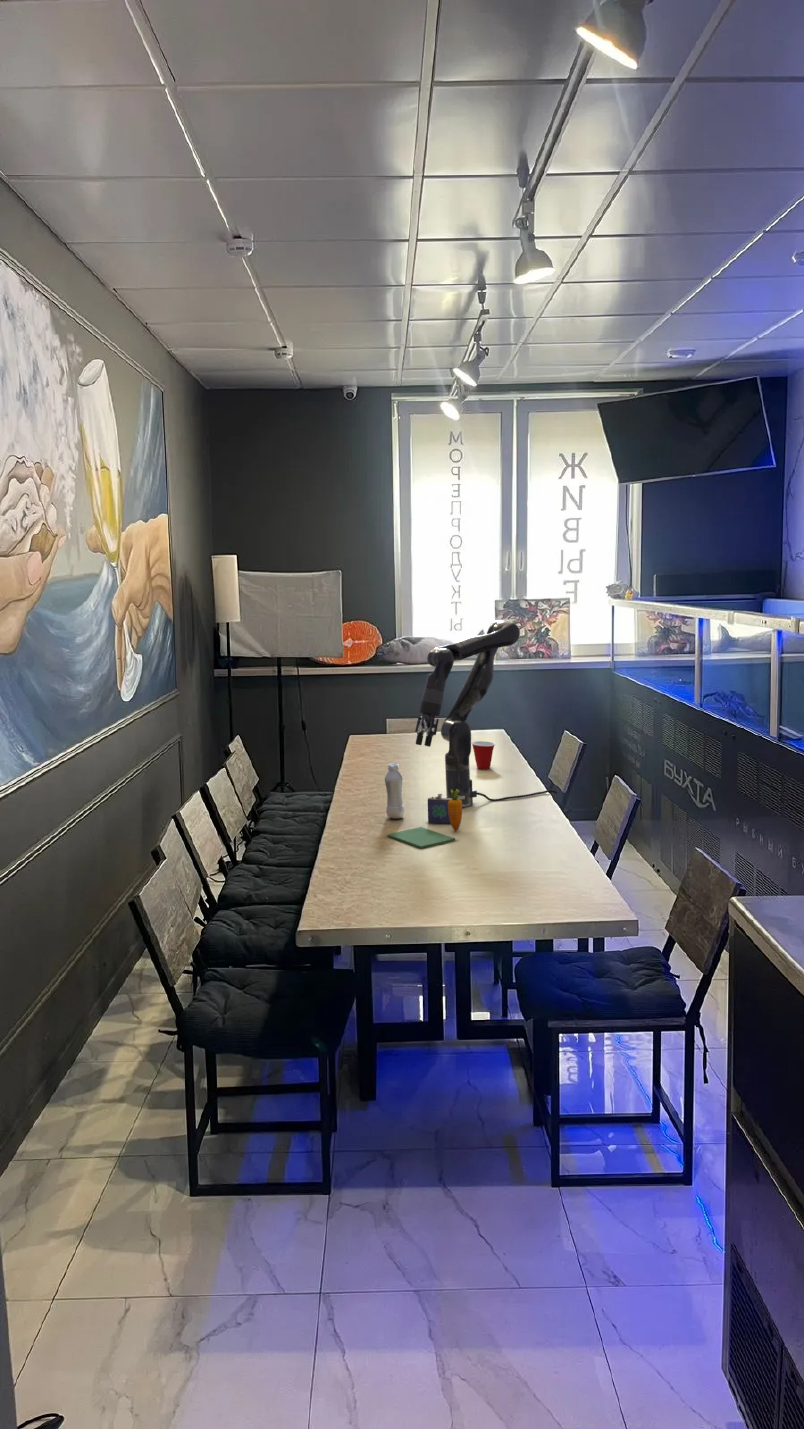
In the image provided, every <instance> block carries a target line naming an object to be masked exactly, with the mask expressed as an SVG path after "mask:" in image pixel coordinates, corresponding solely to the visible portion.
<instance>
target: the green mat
mask: <svg viewBox="0 0 804 1429" xmlns="http://www.w3.org/2000/svg"><path fill="white" fill-rule="evenodd" d="M386 837H388V838H390V839H393V840H396V841H398V842H402V843H404V844H407V845H409V846H413V847H414V848H415V847H416V848H418V849H425V848H430V847H434V846H438V845H443V844H448V843H451V842H455V841H456V837H452V836H449V835H446V834H443V833H440V832H437V831H434V830H431V829H428V828H425V827H422V826H420V827H414V828H409V829H404V830H401V831H396V832H391V833H387V836H386Z"/></svg>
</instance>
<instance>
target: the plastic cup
mask: <svg viewBox="0 0 804 1429" xmlns="http://www.w3.org/2000/svg"><path fill="white" fill-rule="evenodd" d="M495 746H496V743H495V742H492V741H484V740H476V741H475V740H474V741H471V747H472V750H473V756H474V761H475V764H476V768H477V770H482V771H485V770H490V769H491V764H492V759H493V753H494V749H495Z"/></svg>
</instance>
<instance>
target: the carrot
mask: <svg viewBox="0 0 804 1429" xmlns="http://www.w3.org/2000/svg"><path fill="white" fill-rule="evenodd" d="M450 791H451V794H452V798H453V799H451V800H449V801H448V813H449V819H450V823H451V824H450V825H451V828H452V829H453V831H454V832H456V833H457V832H458V831H459V829H460V826H461V823H462V817H463V807H462V801H461V800H460V799H457V798H458V797H459V795H457V794H458V793H459V791H458V790H457V789H456V791H455V794H454V792H453V790H452V789H451V790H450Z"/></svg>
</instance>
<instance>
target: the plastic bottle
mask: <svg viewBox="0 0 804 1429" xmlns="http://www.w3.org/2000/svg"><path fill="white" fill-rule="evenodd" d="M387 770H388V771H387V772H386V774H385V776H384V783H385V784H384V785H385V788H386V809H385V810H386V811H385V813H386V816H387V817H388V818H389V819H395V820H396V819H397V820H398V819H401V818H404V815H405V806H404V802H403V778H404V777H403V775H402V774H401V773H400V771H399V763H389V764H387Z"/></svg>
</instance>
